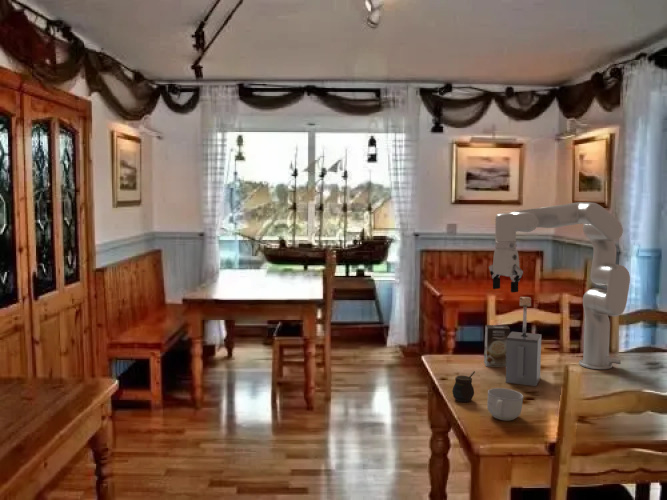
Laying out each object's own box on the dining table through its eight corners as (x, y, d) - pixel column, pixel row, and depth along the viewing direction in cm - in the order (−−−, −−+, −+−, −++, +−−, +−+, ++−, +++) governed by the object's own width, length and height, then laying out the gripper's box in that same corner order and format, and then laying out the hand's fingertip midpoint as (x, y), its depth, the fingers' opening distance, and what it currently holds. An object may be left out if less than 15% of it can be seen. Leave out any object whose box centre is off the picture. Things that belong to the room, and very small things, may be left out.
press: (540, 378, 238) (541, 334, 236) (535, 388, 225) (536, 342, 223) (510, 374, 242) (511, 331, 241) (504, 384, 230) (505, 339, 228)
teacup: (496, 409, 204) (496, 385, 203) (528, 416, 197) (528, 391, 197) (476, 421, 193) (477, 395, 193) (509, 429, 187) (510, 403, 186)
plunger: (538, 341, 236) (539, 296, 234) (535, 347, 228) (536, 300, 226) (513, 339, 240) (514, 295, 238) (509, 344, 232) (511, 298, 230)
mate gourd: (447, 398, 215) (448, 369, 214) (466, 396, 217) (467, 367, 217) (459, 404, 208) (460, 375, 207) (478, 402, 211) (479, 373, 210)
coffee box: (486, 366, 253) (486, 328, 252) (483, 362, 260) (484, 324, 258) (509, 367, 252) (510, 328, 251) (506, 363, 259) (507, 325, 257)
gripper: (529, 246, 231) (529, 292, 233) (497, 243, 246) (497, 286, 248) (514, 248, 227) (514, 294, 229) (482, 244, 243) (482, 288, 244)
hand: (505, 290), depth 238 cm, fingers open, 9 cm apart
